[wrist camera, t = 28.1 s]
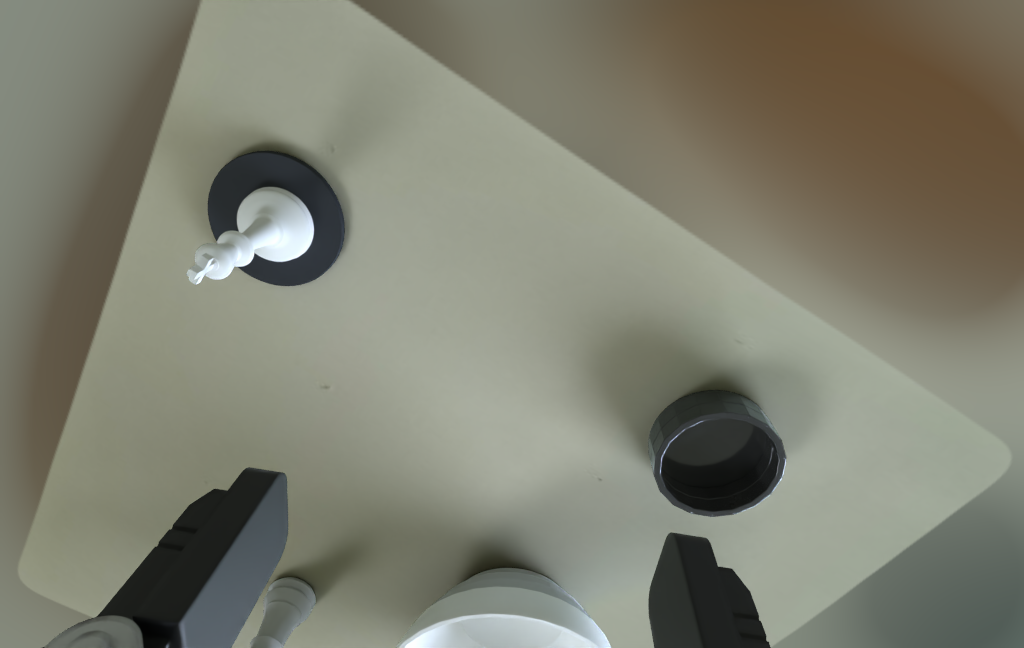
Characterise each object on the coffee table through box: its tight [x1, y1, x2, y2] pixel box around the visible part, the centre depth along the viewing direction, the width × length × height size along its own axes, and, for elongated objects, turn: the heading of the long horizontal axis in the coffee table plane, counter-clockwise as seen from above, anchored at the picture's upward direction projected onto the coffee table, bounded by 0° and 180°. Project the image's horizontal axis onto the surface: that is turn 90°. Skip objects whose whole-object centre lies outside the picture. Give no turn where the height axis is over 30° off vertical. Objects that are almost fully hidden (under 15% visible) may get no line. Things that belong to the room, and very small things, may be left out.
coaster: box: [208, 151, 345, 286], centre depth 39 cm, size 9×9×1 cm
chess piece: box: [186, 187, 314, 285], centre depth 34 cm, size 5×5×10 cm
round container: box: [648, 390, 786, 517], centre depth 43 cm, size 9×9×3 cm
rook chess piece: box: [250, 577, 316, 648], centre depth 50 cm, size 4×4×8 cm
